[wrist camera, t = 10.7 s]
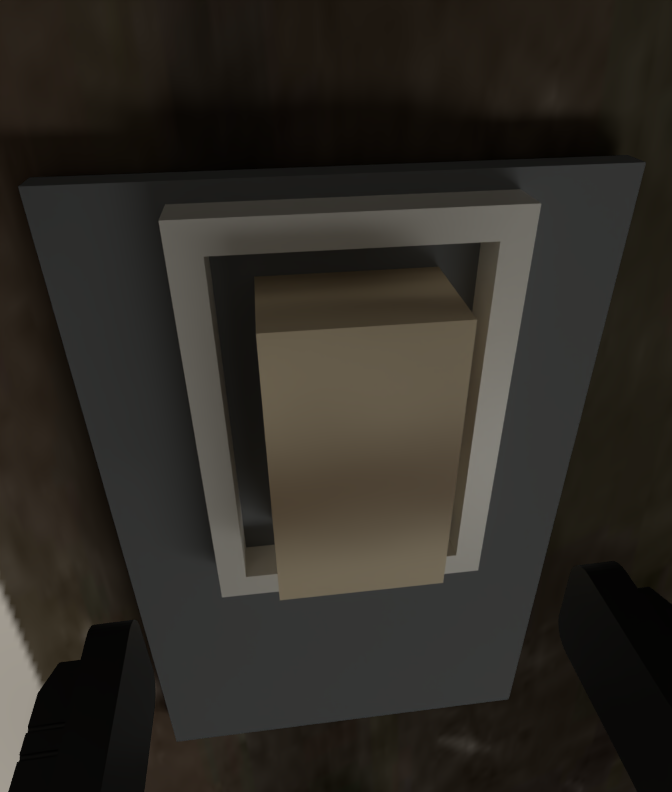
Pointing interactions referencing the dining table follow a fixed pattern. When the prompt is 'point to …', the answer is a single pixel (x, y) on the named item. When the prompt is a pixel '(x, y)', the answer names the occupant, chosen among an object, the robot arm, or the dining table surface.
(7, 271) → the dining table surface
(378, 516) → the tan rectangular block
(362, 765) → the dining table surface
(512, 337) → the slot frame
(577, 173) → the mat
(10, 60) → the dining table surface
